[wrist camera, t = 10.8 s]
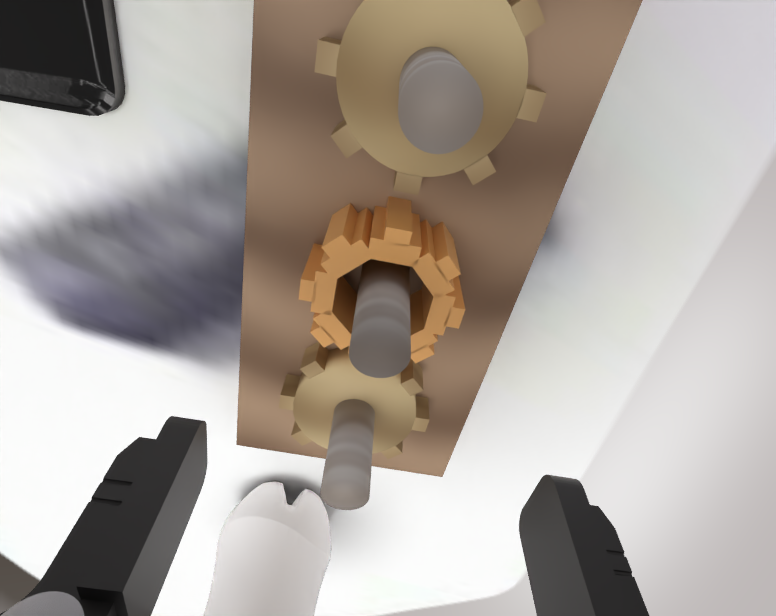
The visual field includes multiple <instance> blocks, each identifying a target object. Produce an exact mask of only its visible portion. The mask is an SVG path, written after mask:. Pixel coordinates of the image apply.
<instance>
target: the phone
mask: <svg viewBox="0 0 776 616" xmlns="http://www.w3.org/2000/svg"><path fill="white" fill-rule="evenodd" d="M124 96H125V84H124V76H123V69H122V61H121V54H120V46H119V39H118V31H117V24H116V16H115V9H114V1H113V0H0V101H6V102H12V103H18V104H24V105H30V106H36V107H42V108H48V109H53V110H59V111H65V112H71V113H77V114H83V115H89V116H99V115H101V114H104V113H107V112H109V111H112V110H114V109H116V108H117V107H118V106H119V105H120V104H121V103H122V101H123V98H124Z"/></svg>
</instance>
